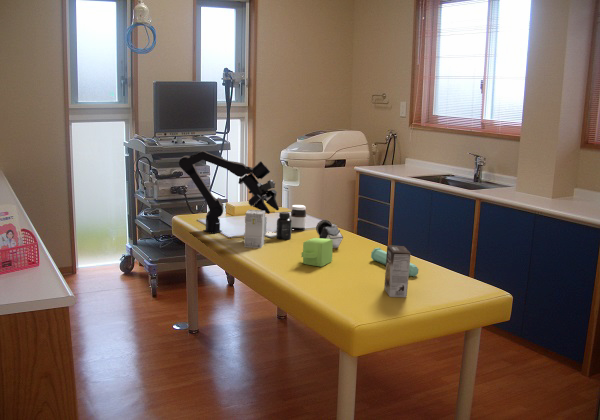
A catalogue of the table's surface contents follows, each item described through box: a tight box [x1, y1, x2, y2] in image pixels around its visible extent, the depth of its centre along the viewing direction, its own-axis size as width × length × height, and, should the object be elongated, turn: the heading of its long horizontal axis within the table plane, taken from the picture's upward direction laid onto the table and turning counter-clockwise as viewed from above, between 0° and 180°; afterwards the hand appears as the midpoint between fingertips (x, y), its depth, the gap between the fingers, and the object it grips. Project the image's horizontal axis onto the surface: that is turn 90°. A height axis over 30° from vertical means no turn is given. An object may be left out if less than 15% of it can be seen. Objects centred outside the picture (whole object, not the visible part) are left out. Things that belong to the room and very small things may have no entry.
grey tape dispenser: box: [315, 219, 344, 249], centre depth 283 cm, size 25×10×10 cm, turn 9°
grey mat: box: [264, 231, 276, 239], centre depth 295 cm, size 9×9×1 cm
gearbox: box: [300, 237, 334, 267], centre depth 253 cm, size 18×10×10 cm, turn 154°
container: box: [370, 247, 419, 277], centre depth 249 cm, size 6×6×25 cm
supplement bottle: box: [275, 211, 292, 241], centre depth 289 cm, size 7×7×12 cm
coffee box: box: [383, 244, 411, 298], centre depth 218 cm, size 9×6×16 cm
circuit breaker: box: [243, 209, 268, 249], centre depth 277 cm, size 8×14×15 cm, turn 174°
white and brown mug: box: [289, 204, 307, 231], centre depth 309 cm, size 12×11×12 cm
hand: (273, 211), depth 290 cm, fingers open, 9 cm apart
